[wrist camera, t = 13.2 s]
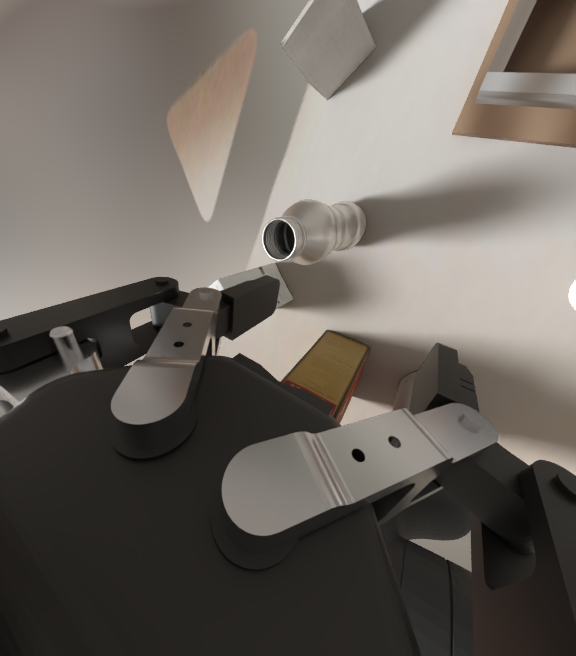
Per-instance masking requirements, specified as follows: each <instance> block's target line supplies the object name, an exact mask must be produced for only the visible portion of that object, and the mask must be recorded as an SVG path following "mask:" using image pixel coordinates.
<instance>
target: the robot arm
mask: <svg viewBox="0 0 576 656" xmlns="http://www.w3.org/2000/svg"><path fill="white" fill-rule="evenodd" d="M279 288H280V281H279V280H278V279H276V278H273V277H271V276H268V275H265V276H262V277H260V278H257V279H255V280H249V281H245V282H243V283H241V284H237V285H235V286H232V287H229V288H227V289H224V290H222V291H218V290H216V289H213V288H206V287H205V288H204V287H203V288H196V289H194V290H192V291H191V292H190V293H187V292H183V291H179V287H178V281H177V280H175V279H173V278H169V277H155V278H151V279H147V280H144V281H140V282H137V283H133V284H129V285H126V286H122V287H118V288H115V289H112V290H108V291H104V292H101V293H97V294H94V295H90V296H86V297H83V298H79V299H76V300H72V301H69V302H66V303H62V304H58V305H55V306H51V307H48V308H44V309H40V310H37V311H33V312H30V313H26V314H23V315H19V316H15V317H12V318H9V319H5V320H1V321H0V407H1V408H2V409H3V411H4V412H5V413H6V414H5V415H3V416H2V417H0V656H576V476H575V475H574V474H572V473H571V472H569V471H568V470H566V469H564V468H563V467H561V466H559V465H557V464H555V463H552V462H549V461H545V460H537V461H535V462H534V463H533V464H531V465H530V466H529V465H527V464H526V463H524V462H523V461H522V460H520V459H519V458H517V457H516V456H514V455H513V454H511V453H510V452H509V451H507V450H506V449H505V448H503V447H502V446H501V445H499V444H498V443H497V440H498V434H497V431H496V429H495V428H494V426H493V425H492V424H491V422H490V421H489V420H488V419H487V418H486V417H484V416H483V415H482V414H481V413H479V408H478V402H477V397H476V393H475V386H474V380H473V376H472V374H471V373H470V372H469V370H468V369H467V368H466V366H463V365H461V364H459V363H458V355H457V350H455V349H452V348H450V347H447V346H445V345H442V344H440V343H436V344H435V346H434V347H433V348H432V350H431V352H430V353H429V355H428V356H427V358H426V359H425V361H424V362H423V364H422V366H421V367H420V369H419V370H418V371H417V372H413V373H410V374H408V375H406V376H405V377H404V378H403V379H402V380H401V382H400V384H399V388H398V392H397V396H396V400H395V404H394V408H393V411H392V412H388V413H385V414H381V415H378V416H375V417H371V418H368V419H364V420H361V421H358V422H354V423H351V424H347V425H344V426H341V425H340V424H339V423H338V422H337V421H336V420H335V418H333V417H332V416H331V415H330V414H331V412H332V409H333V407H334V406H333V405H331V404H329V403H327V402H326V401H324V400H322V399H320V398H319V397H317V396H315V395H313V394H311V393H310V392H308V391H305V390H302V389H299V388H296V387H293V386H290V385H287V384H284V383H281V382H279V381H278V380H276V379H275V378H274V377H273V376H272V375H271V374H270V373H269V372H268V371H267V370H265V369H264V368H263V367H262V366H261V365H260V364H258V363H256V362H255V361H253V360H251V359H249V358H247V357H246V356H244V355H242V354H240V353H239V354H238V355H236V356H235V357H234V358H229V357H225V356H218V353H219V348H220V343H221V337H222V336H225V337H226V338H228V339H230V340H234V339H235V338H237V337H238V336H240V335H241V334H243V333H245V332H246V331H248V330H249V329H251V328H252V327H254V326H256V325H257V324H259V323H260V322H262V321H263V320H265V319H266V318H268V317H270V316H271V315H272V314H273V313H274V311H275V309H276V306H277V300H278V294H279ZM148 307H150V313H151V319H152V321H151V322H148V323H146V324H144V325H141V326H139V327H137V328H134V329H132V330H131V327H130V318H131V316H132V315H133V314H134V313H136V312H138V311H140V310H143V309H146V308H148ZM144 354H146V356H145V357H144V358H143V359H142V360H137V361H136V362H135V363H134V364H133V365H130V366H125V365H127V364H128V363H130V362H132V361H134V360H135V359H137V358H139V357H141V356H143V355H144ZM470 530H471V556H472V557H471V560H472V572H470V571H468V570H466V569H464V568H463V567H461V566H459V565H457V564H455V563H453V562H451V561H449V560H445V558H443V557H441V556H439V555H437V554H435V553H433V552H431V551H429V550H427V549H425V548H423V547H421V546H419V545H417V544H415V543H413V542H411V541H409V540H411V539H433V540H455V539H459V538H461V537H463V536H465V535H466V534H468V533H469V531H470Z"/></svg>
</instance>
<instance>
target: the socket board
mask: <svg viewBox="0 0 576 656" xmlns="http://www.w3.org/2000/svg"><path fill="white" fill-rule="evenodd" d="M452 135H461V136H470V137H480V138H489V139H499V140H508V141H517V142H527V143H536V144H546V145H555V146H564V147H574V148H576V0H509V2H508V4H507V6H506V9H505V11H504V13H503V16H502V18H501V20H500V23H499V25H498V27H497V30H496V32H495V34H494V37H493V39H492V41H491V44H490V46H489V48H488V51H487V53H486V55H485V58H484V60H483V62H482V65H481V67H480V69H479V72H478V74H477V76H476V79H475V81H474V83H473V86H472V88H471V90H470V93H469V95H468V97H467V100H466V102H465V104H464V107H463V109H462V111H461V114H460V116H459V118H458V121H457V123H456V125H455V128H454V130H453V133H452Z"/></svg>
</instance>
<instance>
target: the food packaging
mask: <svg viewBox="0 0 576 656" xmlns="http://www.w3.org/2000/svg"><path fill="white" fill-rule="evenodd" d="M369 351H370V346H368V345H366V344H363V343H361V342H358V341H355V340H353V339H350V338H348V337H345V336H343V335H340V334H338V333H335V332H333V331H329V330H326V331H325V332H324V334H323V335H322V336H321V337H320V338H319V339H318V341H317V342H316V343H315V344H314V345H313V346H312V347H311V349H310V350H309V351H308V352H307V353H306V354H305V355H304V356H303V357H302V359H301V360H300V361H299V362H298V363H297V364H296V365H295V366H294V367H293V369H292V370H291V371H290V372H289V373H288V374H287V375H286V376H285V377H284V379H283V380H282V381H281V383H284V384H287V385H290V386H293V387H296V388H299V389H302V390H305V391H308V392H310V393H311V394H313V395H315V396H317V397H319V398H320V399H322V400H324V401H326V402H327V403H329V404H331V405H333V406H334V407H333V409H332V412H331V414H330V415H331V416H332V417H333V418H335V420H336V421H337V422H338V423H339V424H340V422H341V420H342V418H343V415H344V413H345V411H346V409H347V407H348V404H349V402H350V400H351V398H352V395H353V393H354V390H355V388H356V385H357V383H358V380H359V378H360V375H361V373H362V370H363V367H364V364H365V362H366V360H367V357H368V354H369Z"/></svg>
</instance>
